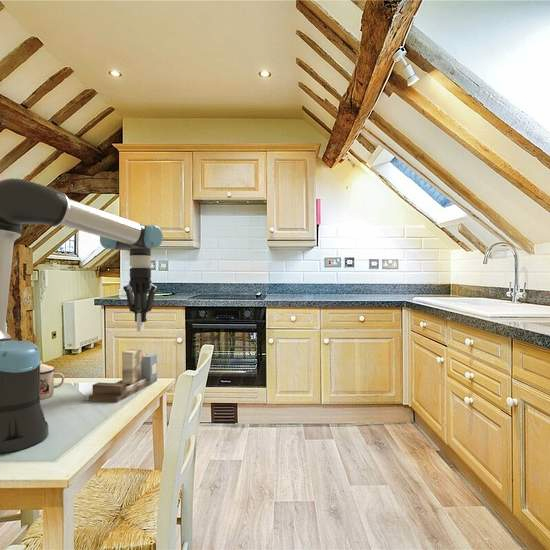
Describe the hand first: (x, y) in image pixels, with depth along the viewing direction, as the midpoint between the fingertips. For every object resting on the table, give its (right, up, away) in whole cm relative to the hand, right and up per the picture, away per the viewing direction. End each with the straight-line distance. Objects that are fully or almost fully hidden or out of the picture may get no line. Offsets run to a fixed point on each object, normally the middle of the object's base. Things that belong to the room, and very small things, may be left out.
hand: (140, 330), depth 149 cm
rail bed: (-2, -19, -10) cm, 22 cm away
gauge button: (0, -13, 0) cm, 13 cm away
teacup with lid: (-26, -20, -16) cm, 37 cm away
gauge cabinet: (0, -19, 0) cm, 19 cm away
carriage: (-1, -17, -6) cm, 18 cm away
